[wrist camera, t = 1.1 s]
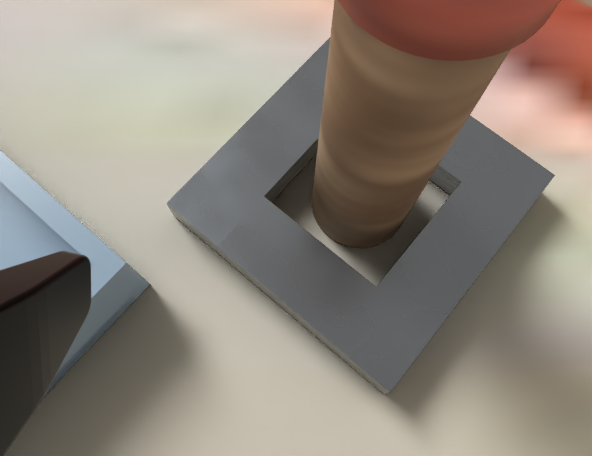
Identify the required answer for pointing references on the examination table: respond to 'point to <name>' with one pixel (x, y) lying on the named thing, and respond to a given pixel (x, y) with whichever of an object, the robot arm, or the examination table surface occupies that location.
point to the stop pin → (403, 101)
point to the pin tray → (62, 237)
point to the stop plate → (326, 264)
